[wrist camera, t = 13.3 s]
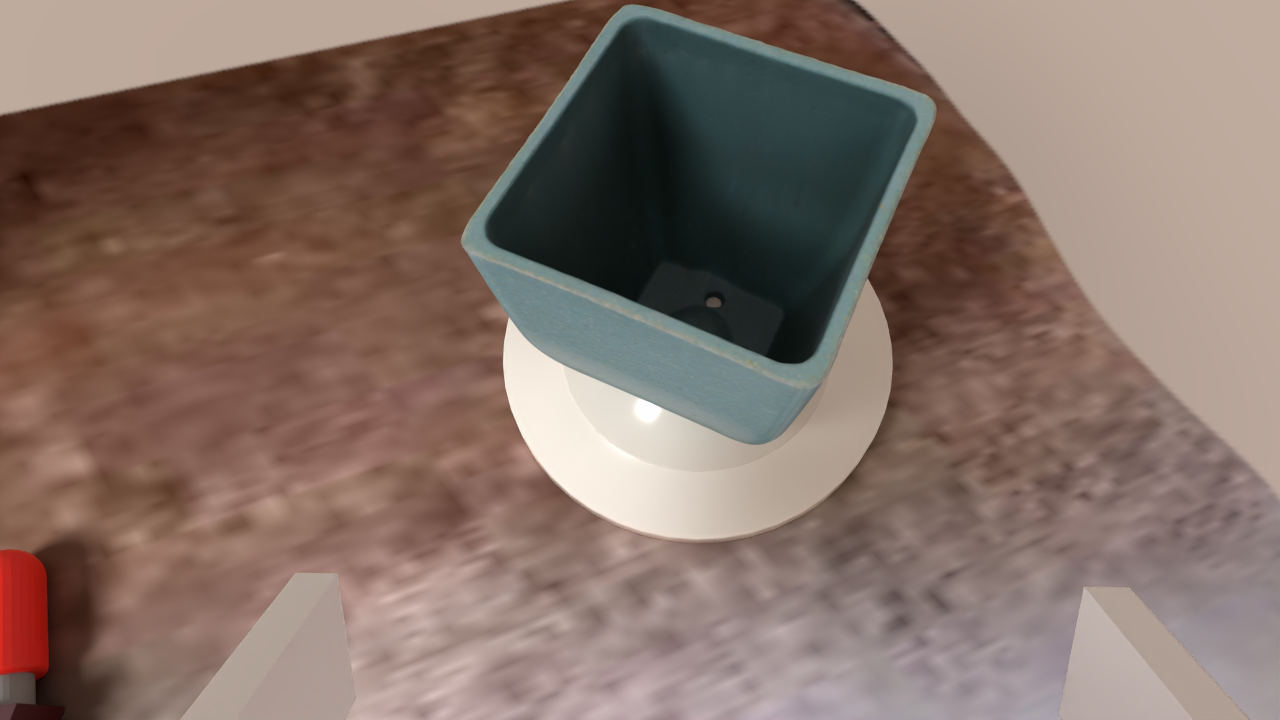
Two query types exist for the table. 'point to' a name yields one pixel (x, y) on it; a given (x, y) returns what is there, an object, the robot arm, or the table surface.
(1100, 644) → the robot arm
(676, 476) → the saucer
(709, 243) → the flower pot
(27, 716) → the toy gun
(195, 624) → the table surface
